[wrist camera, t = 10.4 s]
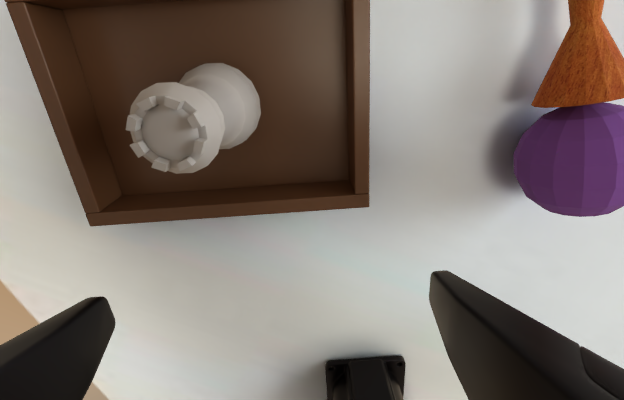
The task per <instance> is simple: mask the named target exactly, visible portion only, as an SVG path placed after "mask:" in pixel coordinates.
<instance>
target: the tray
mask: <svg viewBox="0 0 624 400" xmlns="http://www.w3.org/2000/svg"><path fill="white" fill-rule="evenodd" d="M5 2H7V3H6V5H7V8H8V10H9V13H10V15H11V18H12V21H13V23H14V26H15V29H16V31H17V34H18V37H19V39H20V42H21V44H22V47H23V50H24V52H25V55H26V58H27V60H28V63H29V66H30V68H31V71H32V73H33V76H34V79H35V81H36V84H37V87H38V89H39V92H40V95H41V97H42V100H43V102H44V105H45V108H46V110H47V113H48V116H49V118H50V121H51V124H52V126H53V129H54V132H55V134H56V137H57V139H58V142H59V145H60V147H61V150H62V153H63V155H64V158H65V161H66V163H67V166H68V168H69V171H70V174H71V176H72V179H73V182H74V184H75V187H76V190H77V192H78V195H79V197H80V200H81V203H82V205H83V208H84V211H85V213H86V217H87V219H88V222H89V224H90V226H102V225H116V224H131V223H145V222H159V221H174V220H188V219H203V218H217V217H231V216H246V215H260V214H275V213H289V212H303V211H318V210H332V209H346V208H361V207H369V105H370V0H5ZM206 63H224V64H226V65H229V66H231V67H234V68H236V69H239V70H240V71H241V72H242V73H243V74H244V75H245V76H246V77H247V78H248V79H249V80H251V81H252V83H253V85H254V87H255V89H256V91H257V93H258V95H259V99H260V110H261V115H260V118H259V121H258V125H257V128H256V129H255V131H254V132H253V133H252V134H251V135H250V136H249V138H248V139H247V140H245V141H244V142H243V143H241V144H239V145H237V146H235V147H232V148H230V149H219V151H218V154H217V155H216V157H215V158H214V159H213V160H212V161H211V162H210V164H209V165H208V166H206V167H204V168H202V169H200V170H198V171H196V172H194V173H178V174H176V173H173V172H170V171H166V172H164V171H161V170H158V169H154V168H151V167H152V164H153V163H151V162H150V161H149V160H147V159H146V158H145V157H144V156H141V157H139V158H138V157H137V155H136V154H135V152H134V151H133V149H132V148H131V147H130V144H133V143H134V142H133V139H132V135H131V132H130V131H128V130H126V124H127V117H128V115H130V109H131V105H132V103H133V102H134V101H135V99H136V98H137V96H138V95H139V93H140V92H141V91H142V90H144V89H146V88H148V87H150V86H152V85H154V84H156V83H168V82H177V83H179V82H180V80H181V79H182V77H183V76H184V75H185V73H186V72H188V71H190V70H192V69H194V68H196V67H198V66H200V65H203V64H206Z"/></svg>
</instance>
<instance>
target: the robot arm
mask: <svg viewBox="0 0 624 400" xmlns="http://www.w3.org/2000/svg"><path fill="white" fill-rule="evenodd" d="M429 300H430V305H431V308H432V311H433V314H434V316H435V319H436V322H437V325H438V328H439V331H440V334H441V337H442V340H443V342H444V345H445V348H446V351H447V354H448V356H449V359H450V361H451V363H452V365H453V367H454V370H455V372H456V374H457V376H458V378H459V380H460V382H461V384H462V386H463V389H464V391H465V393H466V395H467V397H468V399H469V400H624V369H623V368H621V367H619V366H617V365H615V364H613V363H612V362H610V361H608V360H606V359H604V358H602V357H601V356H599V355H597V354H595V353H593V352H592V351H590V350H588V349H586V348H585V347H580V346H579V344H577V343H575V342H574V341H572V340H570V339H568V338H567V337H565V336H563V335H561V334H559V333H558V332H556V331H554V330H552V329H551V328H549V327H547V326H545V325H543V324H542V323H540V322H538V321H536V320H535V319H533V318H531V317H529V316H527V315H526V314H524V313H522V312H520V311H519V310H517V309H515V308H513V307H511V306H510V305H508V304H506V303H504V302H502V301H501V300H499V299H497V298H495V297H494V296H492V295H490V294H488V293H486V292H485V291H483V290H481V289H479V288H478V287H476V286H474V285H472V284H470V283H469V282H467V281H465V280H463V279H462V278H460V277H458V276H456V275H454V274H453V273H451V272H449V271H434V272H433V273H432V274H431V279H430V292H429ZM114 328H115V318H114V316H113V313H112V311H111V308H110V305H109V303H108V301H107V299H106V298H105V297H90V298H87V299H85V300H83V301H81V302H79V303H77V304H75V305H74V306H72V307H70V308H68V309H66V310H64V311H63V312H61V313H59V314H57V315H55V316H53V317H52V318H50V319H48V320H46V321H44V322H42V323H41V324H39V325H37V326H35V327H33V328H31V329H30V330H28V331H26V332H24V333H22V334H20V335H18V336H17V337H15V338H13V339H11V340H9V341H8V342H6V343H4V344H2V345H0V400H83V398H84V396H85V394H86V392H87V390H88V388H89V386H90V384H91V382H92V380H93V378H94V376H95V373H96V371H97V369H98V366H99V364H100V362H101V359H102V357H103V354H104V352H105V350H106V347H107V345H108V343H109V340H110V338H111V336H112V333H113V331H114ZM325 369H326V383H327V397H328V400H403V391H404V376H405V361H404V358H403V357H401V356H390V357H375V358H360V359H345V360H331V361H328V362H326V364H325Z"/></svg>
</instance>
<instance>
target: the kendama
mask: <svg viewBox="0 0 624 400" xmlns="http://www.w3.org/2000/svg"><path fill="white" fill-rule="evenodd" d="M568 4H569V14H570V24H571V26H570V28H569V30H568V32H567V34H566V36H565V38H564V40H563V42H562V44H561V46H560V48H559V50H558V52H557V54H556V56H555V58H554V60H553V62H552V64H551V66H550V68H549V70H548V72H547V74H546V76H545V78H544V80H543V82H542V84H541V86H540V88H539V90H538V92H537V94H536V96H535V98H534V100H533V102H532V104H531V105H532V106H534V107H543V108H550V107H561V108H558V109H556V110H554V111H551V112H549V113H547V114H544V115H543V116H542V117H541V118H539V119H538V120H537V121H536V122H535V123H534V124H533V125H532V126H531V127H530V128H529V129H528V130H527V131H526V132H524V133H523V134H522V137H521V139H520V141H519V143H518V145H517V147H516V149H515V152H514V174H515V176H516V178H517V180H518V182H519V184H520V186H521V188H522V189H523V191H524V193H525V195H526V196H527V197H528V198H530V199H531V200H532V201H534V202H535V203H537V204H538V205H540V206H541V207H542V208H544V209H546V210H548V211H550V212H553V213H557V214H561V215H568V216H579V217H582V216H598V215H604V214H609V213H611V212H613V211H615V210H617V209H619V208H621V207H623V206H624V106H621V105H616V104H610V103H605V102H608V101H613V100H617V99H622V98H624V58H623V56H622V54H621V53H620V51H619V49H618V47H617V45H616V44H615V42H614V40H613V38H612V37H611V35H610V33H609V31H608V29H607V28H606V26H605V24H604V22H603V21H602V19H601V15H602V10H603V4H604V0H568Z"/></svg>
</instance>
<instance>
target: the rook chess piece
mask: <svg viewBox="0 0 624 400" xmlns="http://www.w3.org/2000/svg"><path fill="white" fill-rule="evenodd" d="M260 115H261V110H260V99H259V95H258V93H257V91H256V89H255V87H254V85H253V83H252V81H251V80H249V79H248V78H247V77H246V76H245V75H244V74H243V73H242V72H241V71H240V70H239V69H236V68H234V67H231V66H229V65H226V64H224V63H206V64H203V65H200V66H198V67H196V68H194V69H192V70H190V71H188V72H186V73H185V75H184V76H183V77H182V79H181V80H180V82H179V83H177V82H168V83H156V84H154V85H152V86H150V87H148V88H146V89H144V90H142V91H141V92H140V93H139V95H138V96H137V98H136V99H135V101H134V102H133V103H132V105H131V109H130V115H128V117H127V124H126V130H128V131H130V132H131V135H132V139H133V142H134V143H133V144H130V147H131V148H132V149H133V151H134V152H135V154H136V155H137V157H138V158H139V157H141V156H144V157H145V158H146V159H147V160H149V161H150V162H151V163H153V164H152V167H151V168H154V169H158V170H161V171H164V172H166V171H170V172H173V173H176V174H178V173H194V172H196V171H198V170H200V169H202V168H204V167H206V166H208V165H209V164H210V162H211V161H212V160H213V159H214V158H215V157H216V155H217V154H218V151H219V149H230V148H232V147H235V146H237V145H239V144H241V143H243V142H244V141H245V140H247V139H248V138H249V136H250V135H251V134H252V133H253V132H254V131H255V129H256V128H257V125H258V121H259V118H260Z"/></svg>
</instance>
